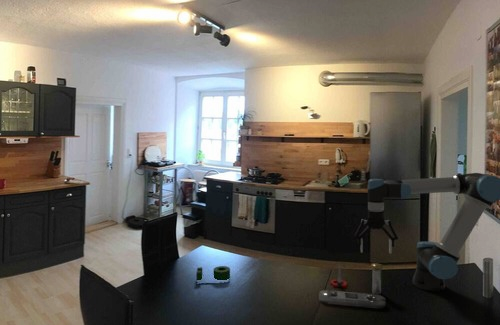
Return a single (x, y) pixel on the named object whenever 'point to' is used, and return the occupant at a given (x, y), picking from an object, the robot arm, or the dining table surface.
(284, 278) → the dining table surface
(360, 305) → the grey rounded bar
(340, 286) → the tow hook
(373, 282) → the link pin
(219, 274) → the slotted cylinder bracket
